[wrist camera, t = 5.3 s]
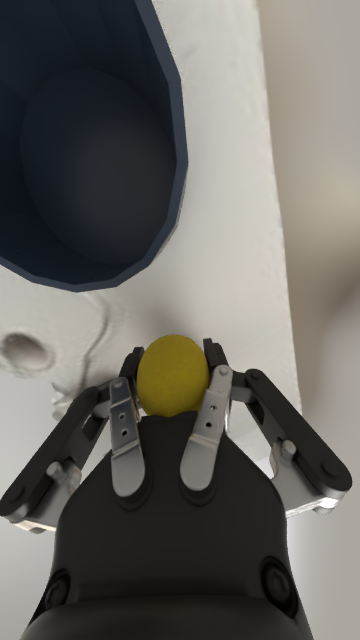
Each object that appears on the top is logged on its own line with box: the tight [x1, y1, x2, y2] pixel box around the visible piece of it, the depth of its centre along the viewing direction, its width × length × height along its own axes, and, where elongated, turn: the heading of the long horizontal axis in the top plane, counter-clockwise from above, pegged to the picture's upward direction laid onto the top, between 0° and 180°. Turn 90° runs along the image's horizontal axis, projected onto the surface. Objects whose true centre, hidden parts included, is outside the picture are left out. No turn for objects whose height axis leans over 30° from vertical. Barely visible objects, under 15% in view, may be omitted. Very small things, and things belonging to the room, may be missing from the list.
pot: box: [0, 0, 188, 293], centre depth 14 cm, size 17×17×10 cm
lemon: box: [137, 335, 210, 417], centre depth 13 cm, size 6×6×8 cm
